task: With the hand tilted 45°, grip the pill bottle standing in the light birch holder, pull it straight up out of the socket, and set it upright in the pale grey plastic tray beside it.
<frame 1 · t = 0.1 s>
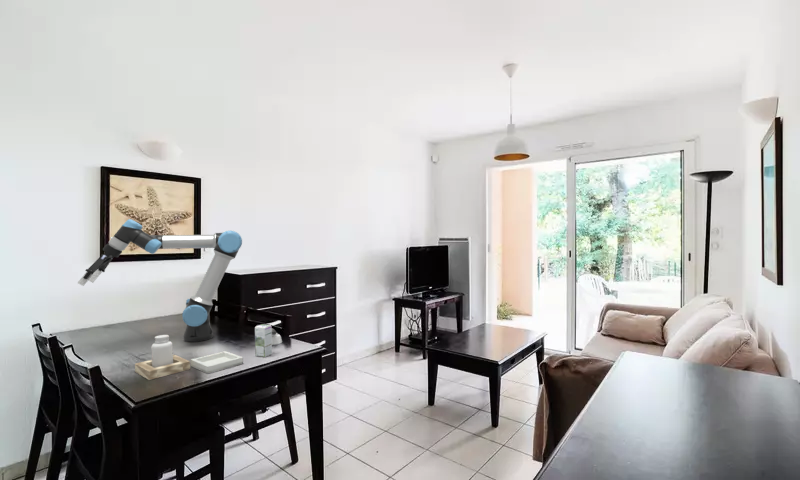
hand: (85, 282, 193), 36 cm above the table, tool tilted 35°, fingers open, 13 cm apart
syrup box: (263, 355, 192), on the table
tray: (217, 365, 178), on the table
pill bottle: (162, 371, 171), on the table
inkwell: (272, 345, 209), on the table
holder: (162, 370, 171), on the table
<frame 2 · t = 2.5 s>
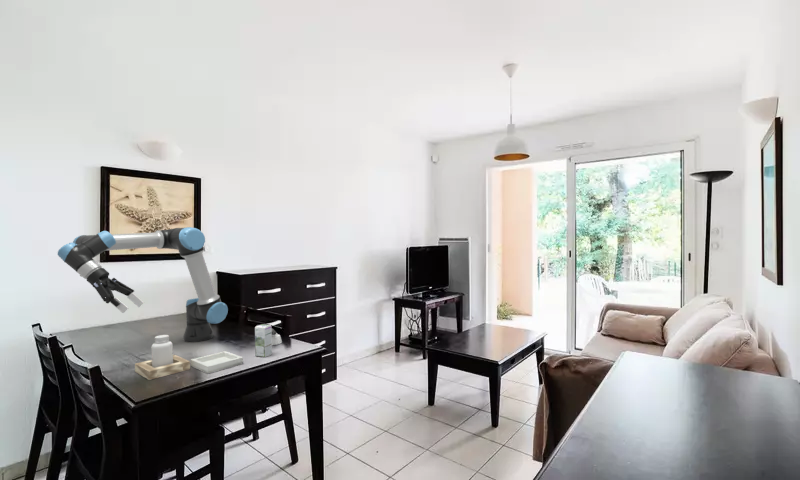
hand: (134, 307, 169), 28 cm above the table, tool tilted 45°, fingers open, 13 cm apart
nothing on the table moved.
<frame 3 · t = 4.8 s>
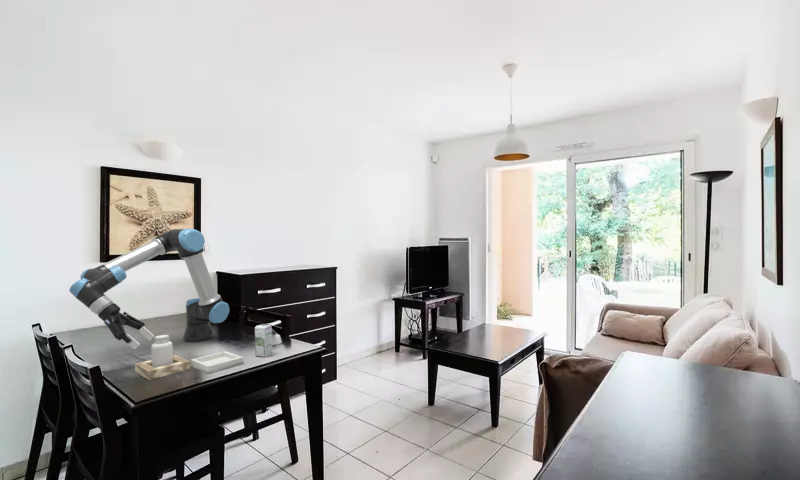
hand: (145, 342, 169), 13 cm above the table, tool tilted 45°, fingers open, 13 cm apart
nothing on the table moved.
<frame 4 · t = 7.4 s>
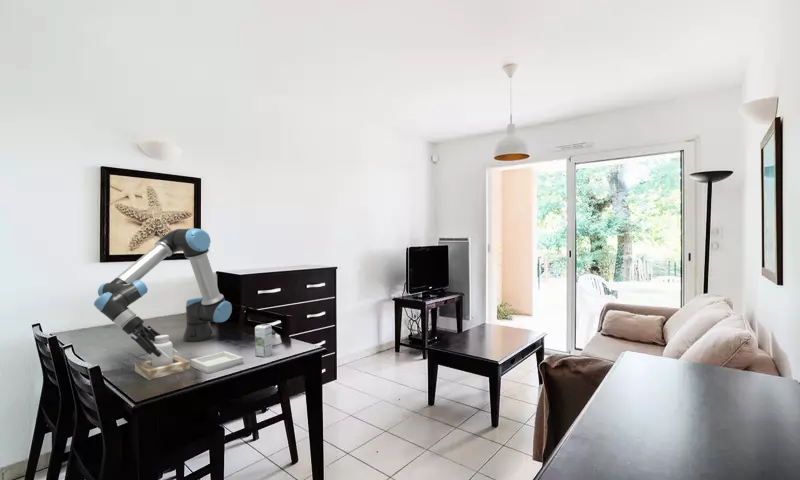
hand: (171, 357, 172), 6 cm above the table, tool tilted 45°, fingers closed on pill bottle, 8 cm apart
pill bottle: (162, 370, 171), on the table, touching gripper
everything else where it was.
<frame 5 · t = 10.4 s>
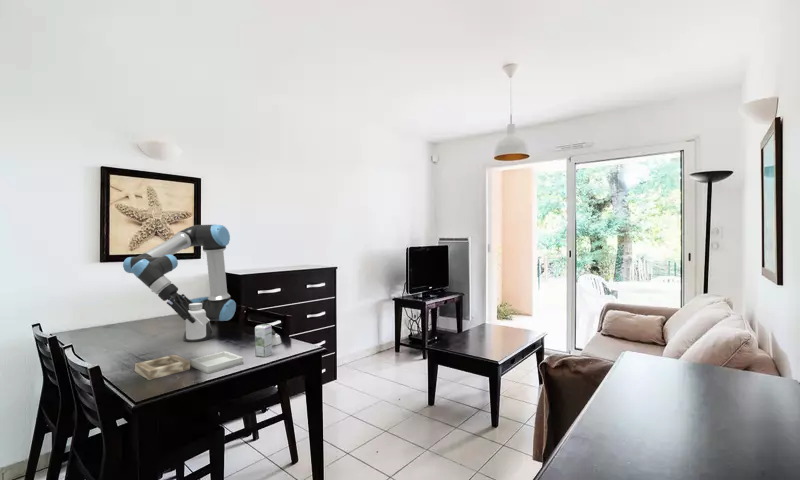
hand: (204, 324, 174), 19 cm above the table, tool tilted 45°, fingers closed on pill bottle, 8 cm apart
pill bottle: (196, 338, 174), point 13 cm above the table, touching gripper
when the fingers open (8 cm above the table, at t = 13.6 s): pill bottle stays where it is, resting on tray.
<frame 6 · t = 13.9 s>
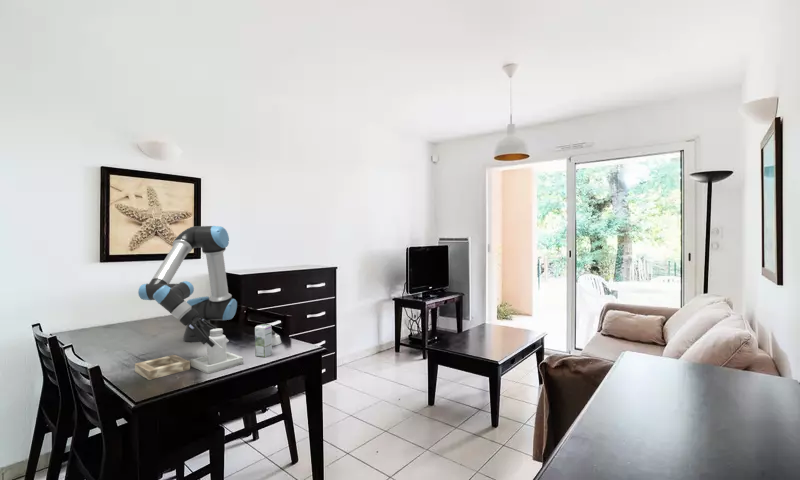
hand: (223, 346, 178), 8 cm above the table, tool tilted 45°, fingers open, 11 cm apart
pill bottle: (217, 363, 178), point 1 cm above the table, touching tray
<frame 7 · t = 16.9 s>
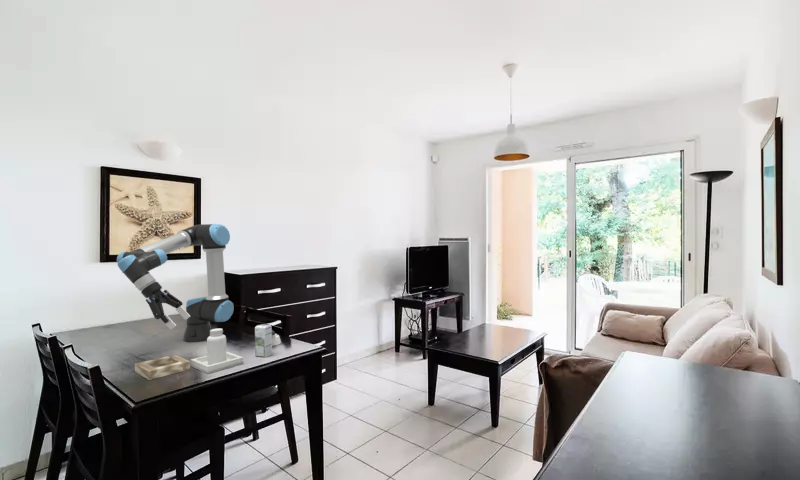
hand: (181, 322, 177), 19 cm above the table, tool tilted 35°, fingers open, 13 cm apart
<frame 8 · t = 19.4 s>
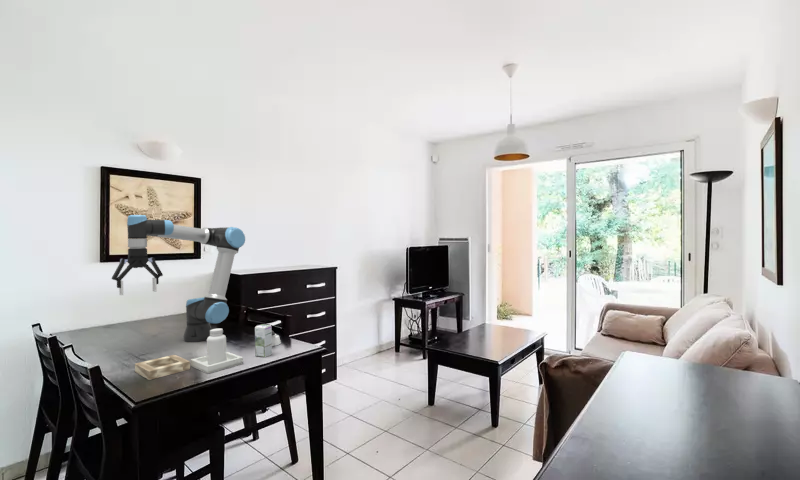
hand: (138, 293, 185), 32 cm above the table, tool pointing down, fingers open, 13 cm apart
at the end: pill bottle inside the target area on the tray (0.2 cm from its centre), point 0.8 cm above the tray's base; pill bottle tilted 0°; the gripper is holding nothing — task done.
